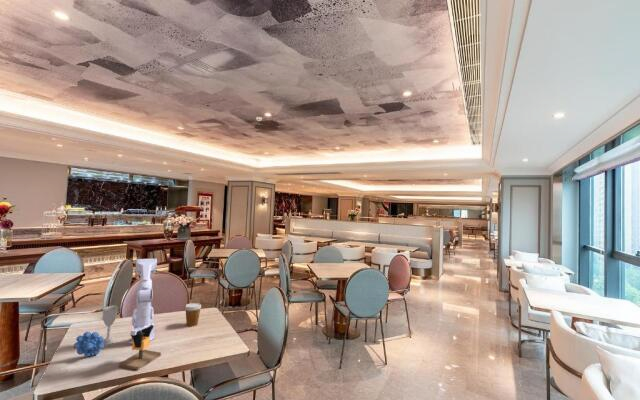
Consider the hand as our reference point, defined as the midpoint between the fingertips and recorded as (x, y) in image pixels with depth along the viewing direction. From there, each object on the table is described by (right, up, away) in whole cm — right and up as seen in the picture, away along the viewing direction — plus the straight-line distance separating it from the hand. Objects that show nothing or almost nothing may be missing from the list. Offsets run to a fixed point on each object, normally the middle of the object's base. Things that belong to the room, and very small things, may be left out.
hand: (141, 344), depth 140 cm
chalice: (-28, -7, +16) cm, 33 cm away
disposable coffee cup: (+5, -10, +45) cm, 46 cm away
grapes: (-26, -7, +1) cm, 27 cm away
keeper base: (0, -8, 0) cm, 8 cm away
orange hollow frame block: (0, -1, 0) cm, 1 cm away
